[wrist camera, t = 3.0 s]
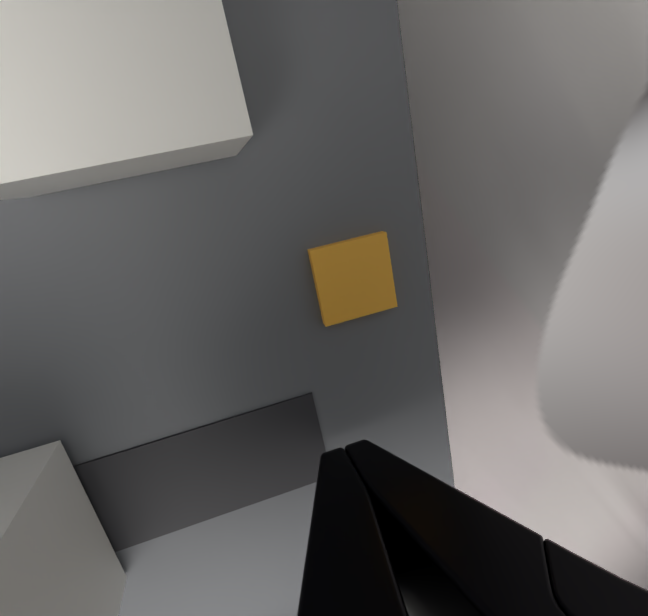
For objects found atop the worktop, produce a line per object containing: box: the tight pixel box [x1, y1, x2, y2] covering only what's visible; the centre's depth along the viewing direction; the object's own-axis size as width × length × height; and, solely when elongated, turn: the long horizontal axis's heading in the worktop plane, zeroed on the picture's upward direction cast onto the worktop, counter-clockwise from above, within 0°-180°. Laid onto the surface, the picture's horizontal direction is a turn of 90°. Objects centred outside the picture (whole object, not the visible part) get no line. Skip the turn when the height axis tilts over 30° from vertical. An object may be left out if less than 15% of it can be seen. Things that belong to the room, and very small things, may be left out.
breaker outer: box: [0, 0, 253, 200], centre depth 4 cm, size 3×3×3 cm
